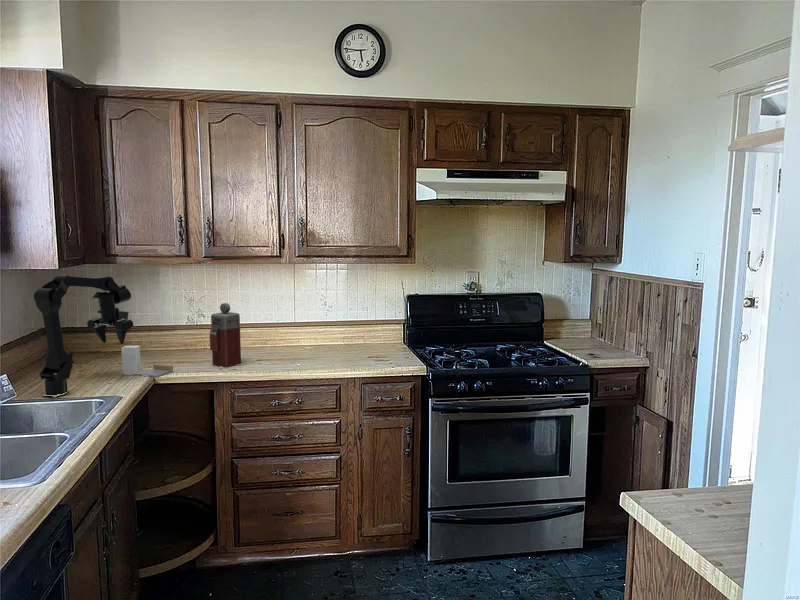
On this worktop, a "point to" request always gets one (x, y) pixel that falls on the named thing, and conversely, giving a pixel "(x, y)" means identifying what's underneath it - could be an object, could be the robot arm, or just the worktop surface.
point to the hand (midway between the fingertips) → (113, 343)
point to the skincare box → (131, 359)
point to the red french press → (225, 337)
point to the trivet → (159, 370)
